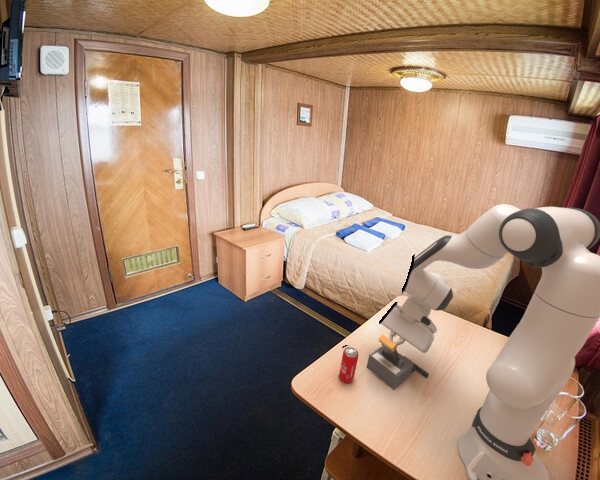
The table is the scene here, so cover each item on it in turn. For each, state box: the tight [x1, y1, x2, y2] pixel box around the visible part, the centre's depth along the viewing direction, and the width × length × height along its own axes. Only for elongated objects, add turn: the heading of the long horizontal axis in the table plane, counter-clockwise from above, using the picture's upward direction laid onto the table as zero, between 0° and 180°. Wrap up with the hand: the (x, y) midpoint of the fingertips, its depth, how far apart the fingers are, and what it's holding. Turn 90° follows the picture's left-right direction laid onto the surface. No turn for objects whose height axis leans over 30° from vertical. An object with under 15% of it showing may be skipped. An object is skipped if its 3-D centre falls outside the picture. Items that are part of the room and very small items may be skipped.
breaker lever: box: [378, 334, 401, 364], centre depth 104 cm, size 6×2×13 cm
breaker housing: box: [366, 346, 414, 391], centre depth 109 cm, size 12×12×9 cm
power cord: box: [403, 355, 430, 378], centre depth 112 cm, size 11×5×2 cm, turn 40°
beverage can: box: [338, 346, 359, 384], centre depth 104 cm, size 5×5×12 cm
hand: (390, 346), depth 104 cm, fingers closed, pressing on breaker lever
